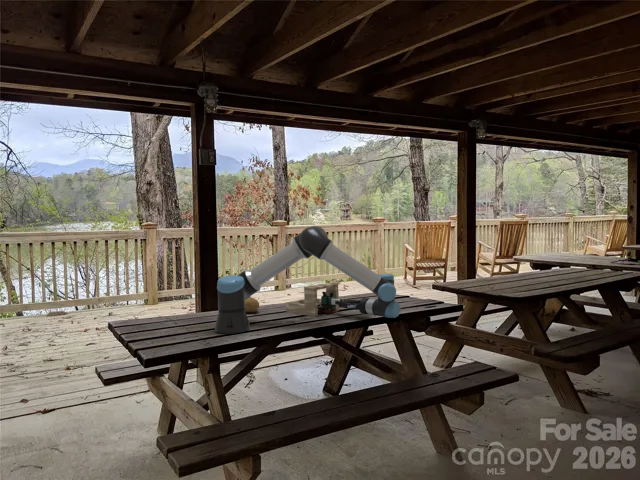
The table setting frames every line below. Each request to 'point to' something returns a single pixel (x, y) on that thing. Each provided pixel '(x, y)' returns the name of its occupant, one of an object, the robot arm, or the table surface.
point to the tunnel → (312, 300)
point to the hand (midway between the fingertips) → (332, 301)
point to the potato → (251, 305)
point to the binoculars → (326, 304)
